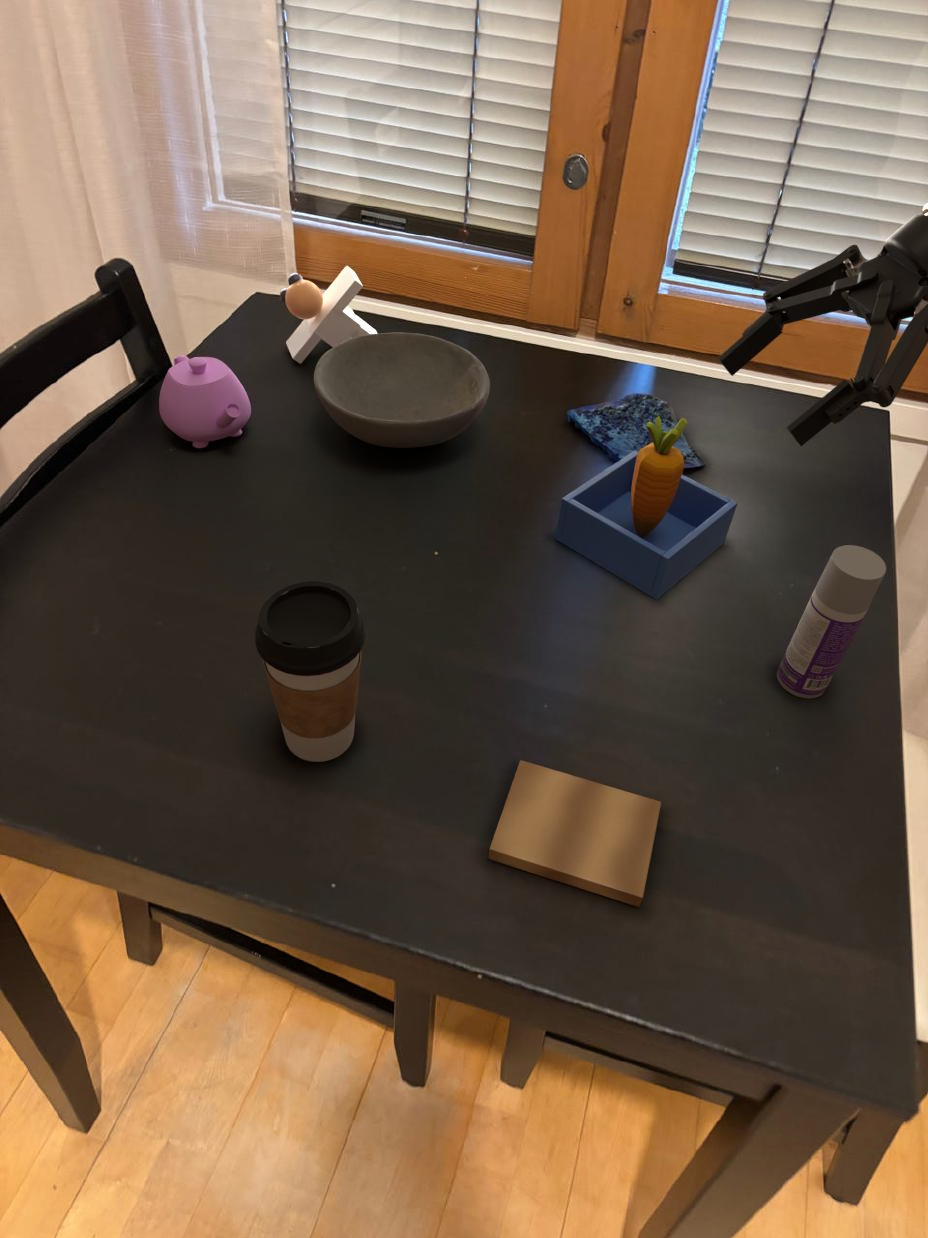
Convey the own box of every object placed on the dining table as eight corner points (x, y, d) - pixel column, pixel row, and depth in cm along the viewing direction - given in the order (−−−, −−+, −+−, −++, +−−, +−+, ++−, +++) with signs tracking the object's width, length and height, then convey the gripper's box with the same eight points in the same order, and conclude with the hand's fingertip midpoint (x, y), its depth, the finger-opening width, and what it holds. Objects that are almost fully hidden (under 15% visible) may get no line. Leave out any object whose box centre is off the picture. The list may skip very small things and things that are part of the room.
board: (657, 812, 73) (661, 801, 72) (639, 907, 67) (643, 898, 66) (518, 770, 75) (520, 759, 74) (487, 859, 69) (489, 849, 68)
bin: (724, 542, 99) (738, 502, 95) (656, 600, 92) (668, 559, 88) (626, 489, 105) (635, 449, 101) (554, 538, 98) (561, 498, 94)
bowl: (485, 391, 119) (490, 336, 114) (485, 482, 104) (490, 424, 99) (329, 382, 119) (326, 326, 113) (306, 472, 104) (301, 412, 98)
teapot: (222, 394, 115) (211, 326, 109) (280, 448, 107) (273, 378, 101) (146, 417, 110) (130, 348, 104) (201, 476, 102) (188, 405, 96)
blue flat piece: (660, 399, 120) (662, 386, 119) (717, 472, 109) (721, 459, 108) (559, 411, 117) (560, 398, 116) (607, 487, 106) (610, 474, 104)
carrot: (613, 542, 97) (640, 424, 86) (625, 518, 100) (652, 401, 90) (657, 556, 96) (690, 437, 85) (668, 530, 99) (701, 413, 89)
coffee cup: (252, 757, 74) (230, 633, 64) (297, 687, 80) (283, 562, 70) (344, 787, 73) (336, 664, 62) (383, 712, 79) (381, 589, 68)
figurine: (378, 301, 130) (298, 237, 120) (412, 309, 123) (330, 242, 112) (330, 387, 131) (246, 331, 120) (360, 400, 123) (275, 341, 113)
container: (829, 672, 85) (890, 554, 75) (822, 705, 82) (885, 587, 72) (781, 656, 87) (834, 537, 76) (772, 688, 84) (826, 569, 73)
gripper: (1050, 327, 76) (841, 490, 83) (877, 218, 93) (715, 361, 100) (1032, 271, 71) (811, 449, 78) (853, 166, 88) (684, 321, 95)
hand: (757, 400), depth 89 cm, fingers open, 13 cm apart
